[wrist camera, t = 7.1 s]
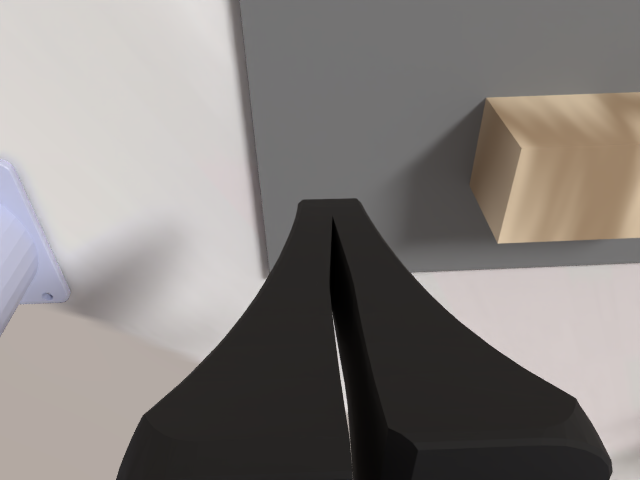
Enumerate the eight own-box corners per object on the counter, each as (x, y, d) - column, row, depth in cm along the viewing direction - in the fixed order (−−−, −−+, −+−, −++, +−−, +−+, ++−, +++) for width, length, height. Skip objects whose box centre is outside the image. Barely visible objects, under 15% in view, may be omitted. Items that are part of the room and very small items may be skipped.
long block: (497, 243, 19) (761, 232, 19) (521, 148, 17) (823, 137, 17) (469, 185, 22) (696, 176, 23) (486, 97, 20) (741, 88, 20)
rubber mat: (270, 271, 26) (270, 278, 25) (236, -44, 17) (234, -41, 17) (705, 253, 26) (711, 259, 26) (891, -64, 17) (904, -61, 17)
